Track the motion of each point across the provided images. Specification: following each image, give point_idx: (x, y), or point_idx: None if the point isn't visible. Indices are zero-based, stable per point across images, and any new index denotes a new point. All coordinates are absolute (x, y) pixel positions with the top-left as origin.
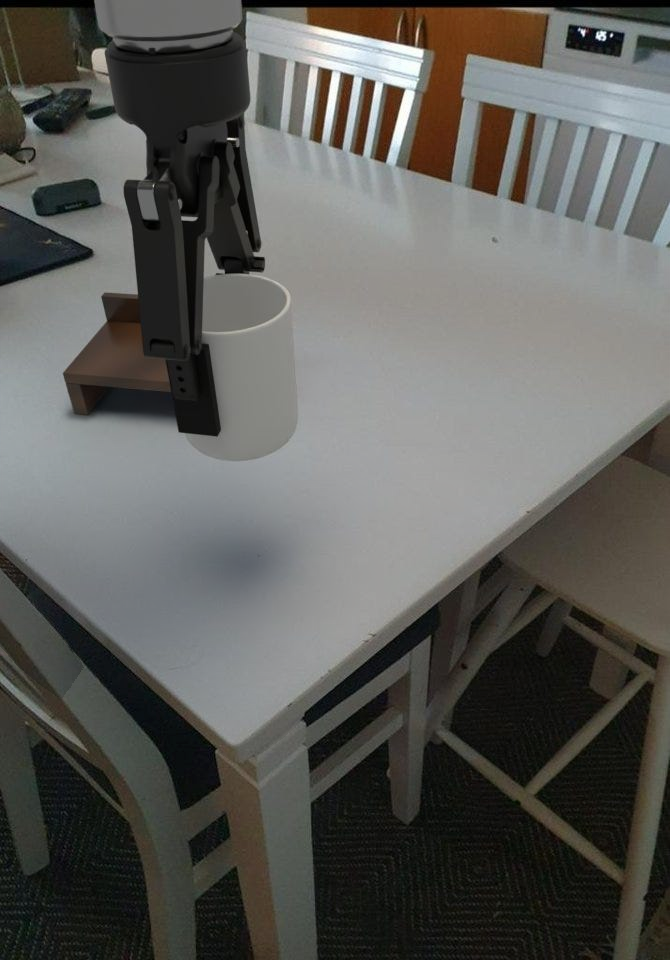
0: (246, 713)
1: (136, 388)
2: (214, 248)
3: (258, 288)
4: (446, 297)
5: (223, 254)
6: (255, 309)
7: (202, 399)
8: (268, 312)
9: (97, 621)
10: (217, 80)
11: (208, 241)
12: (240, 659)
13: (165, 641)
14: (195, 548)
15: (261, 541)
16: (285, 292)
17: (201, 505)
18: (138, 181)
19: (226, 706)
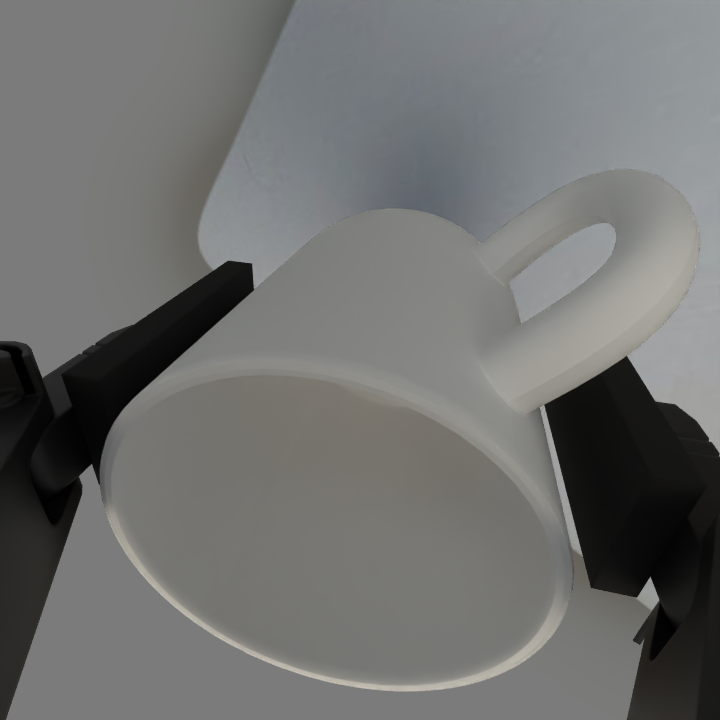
0: (216, 255)
1: None
2: (695, 651)
3: (517, 602)
4: None
5: (679, 634)
6: (518, 519)
7: None
8: (494, 546)
9: (291, 12)
10: None
11: (697, 699)
12: (274, 236)
13: (279, 136)
14: (448, 126)
15: (465, 226)
16: (403, 686)
17: (556, 105)
18: None
19: (218, 233)
